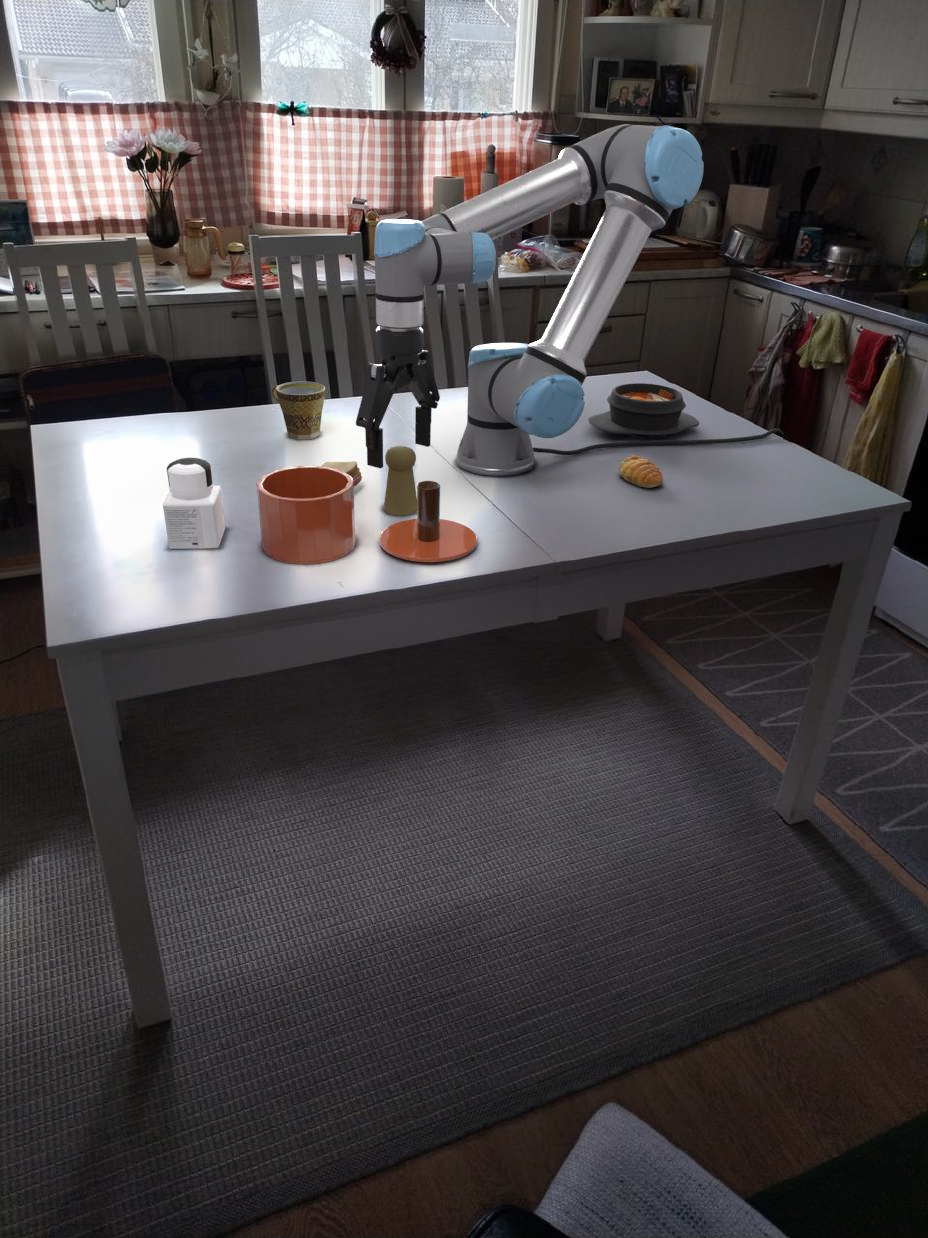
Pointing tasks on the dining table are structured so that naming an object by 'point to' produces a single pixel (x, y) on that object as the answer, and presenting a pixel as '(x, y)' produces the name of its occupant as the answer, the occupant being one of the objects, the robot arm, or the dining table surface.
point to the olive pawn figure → (400, 481)
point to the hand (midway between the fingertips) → (399, 455)
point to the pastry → (640, 472)
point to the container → (193, 506)
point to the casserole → (644, 411)
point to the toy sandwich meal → (346, 469)
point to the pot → (306, 514)
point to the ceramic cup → (301, 408)
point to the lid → (428, 532)
